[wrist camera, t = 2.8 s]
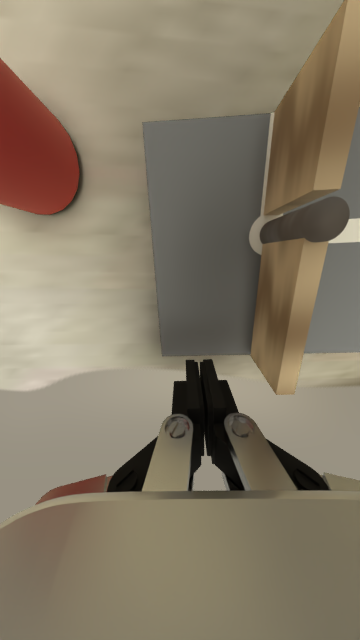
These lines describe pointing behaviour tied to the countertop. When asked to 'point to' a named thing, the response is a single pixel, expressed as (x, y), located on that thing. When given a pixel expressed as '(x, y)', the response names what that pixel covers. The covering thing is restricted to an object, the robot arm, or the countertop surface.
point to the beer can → (33, 151)
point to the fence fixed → (317, 118)
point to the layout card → (234, 237)
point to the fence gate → (291, 287)
